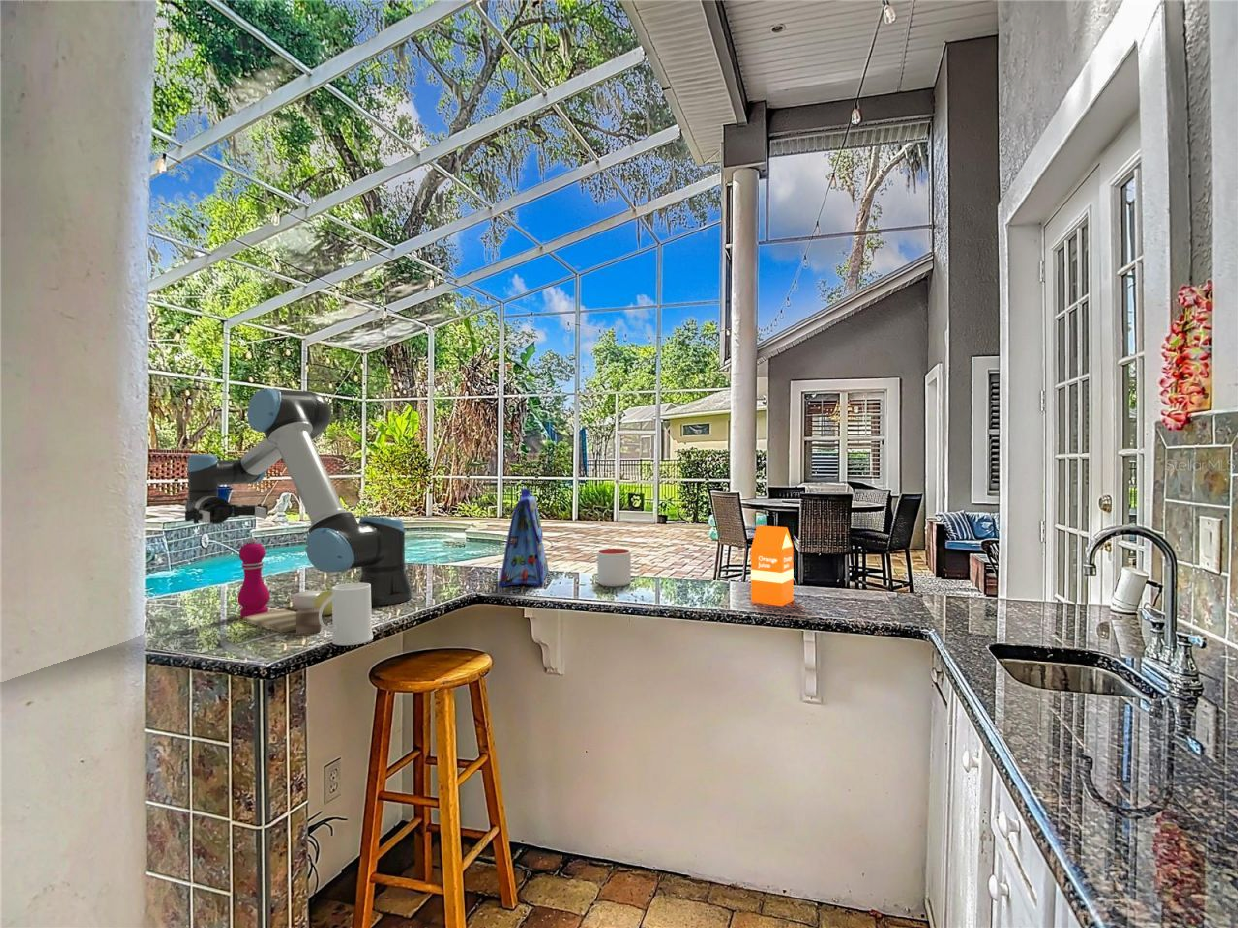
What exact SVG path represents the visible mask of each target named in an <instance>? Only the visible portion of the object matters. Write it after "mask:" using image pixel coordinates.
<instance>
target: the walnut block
mask: <svg viewBox="0 0 1238 928" xmlns="http://www.w3.org/2000/svg"><path fill="white" fill-rule="evenodd" d="M320 608H321V607H313V608H302V609H297V610H296V611H295V612H296V614H295V616H296V630H295V636H300V635H303V634H304V635H312V634H321V630H322V625H321V624H320V621H319V611H320ZM304 635H303V636H304Z"/></svg>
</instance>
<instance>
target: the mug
mask: <svg viewBox="0 0 1238 928" xmlns="http://www.w3.org/2000/svg"><path fill="white" fill-rule="evenodd" d="M331 592H332V596H330V597H329V598H327V599H326V600H325V601H324V603H323V604H322V606H321V608H320V611H319V621H320V624H321V628H323V629H324V630H325V631H327V632H329V633H332V639H331V643H332V644H333V645H335V646H355V645H361V644H366V643H368V642H370V641H372V640H373V638H374V634H373V620H372V606H371V584H369V583H360V582H359V581H357V582H347V583H341V584H336V585H334V586H332V587H331ZM330 601H332V614H331V617H332V627H330V626H327V625H326V624H325V622H324V621H323V615H322V612H323V609H324V607H325V606H326V605H327V604H328V603H329V602H330Z"/></svg>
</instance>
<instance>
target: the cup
mask: <svg viewBox="0 0 1238 928" xmlns="http://www.w3.org/2000/svg"><path fill="white" fill-rule="evenodd" d="M596 556H597V557H596V558H597V560H596V561H597V564H596V565H597V583H598V584H599V585H601V586H603V587H608V588H609V587H610V588H616V587H618V588H619V587H624V586H627V585H629V584H630V583H631V581H632V578H631V577H632V576H631V575H632V574H631V571H632V570H631V566H632V565H631V564H632V563H631V550H629V549H625V548H604V549H600V550H598V551H596Z"/></svg>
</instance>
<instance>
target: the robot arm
mask: <svg viewBox="0 0 1238 928" xmlns="http://www.w3.org/2000/svg"><path fill="white" fill-rule="evenodd" d="M246 413H247V415H246V416H247V422H248V424H249V426H250V428H251V429H252V430H253V431H255V432H257V433H259V434H260V433H261V434H262V433H263V434H264V436H265V437H264V439H262V440H261V441H260V442H258V443H257V444H256V445H254V446H253V447H252V448H251V449H250V450H248V451H247V452H245V453H244V454H243V455H242V456H241V457H239V458H238V459H228V460H227V459H221V460H220V459H218V457H217V455H216V454H191V455H189V456H188V457H187V467H186V468H187V469H186V470H187V481H188V490H187V491H188V492H187V500H185V503H184V507H185V508H184V509H185V511H184V521H186V522H190V521H192V520H193V524H199V523H200V522H202V523H205V524H209V525H217V524H222V523H225V521H227V520H228V519H229V518H238V517H240V516H247V517H249V516H254V517H256V518H260V519H267V516H268V514H269V511H268V510H269V509H268V508H269V507H268V505H262V503H258V504H257V505H248V504H247V505H246V504H241V505H239V504H230V502H229V501H228V500H227V499H226V498H224V497H220V496H218V495H219V492H218V491H219V486H225V485H226V486H227V485H229V486H230V485H245V484H246V485H251V484H256V483H260V482H263V480H264V479H265V476H266V473H267V470H268V469H269V468H271V467H272V466H273V465H275V464H276V463H277V462H278V461H280V460H281V459H282V460H283V462H284V465H285V467H286V470H287V471H288V475H289V476H290V479H291V480H292V483H293V485H294V487H295V490H296V491H297V495H298V497H299V499H300V501H301V503H302V504H303V507H304V510H305V512H306V515H307V517H308V519H309V521H310V524H309V527H308V529H307V533H308V535H307V537H306V540H305V545H306V547H305V551H306V552H305V553H306V556H307V558H308V561H309V562H310V563H311V565H312V566H313V567H314V568H315V569H317V570H318V571H320V572H323V573H325V574H333V573H344V572H347V571H350V570H353V569H358V568H360V575H359V579H358V582H360V583H369V584H371V607H373V606H374V607H375V606H388V605H389V606H390V605H394V604H395V605H396V604H400V603H404V602H405V603H406V601H409V600H411V599H413V588H412V586H411V583H410V580H409V577H408V574H407V572H406V550H405V549H406V544H405V542H406V540H405V535H406V532H405V525H404V521H403V520H402V519H401V518H400V517H398V518H397V517H385V516H384V517H380V516H378V517H377V516H361V517H359V520H358V522H357V519H356V517H355V515H354V513H353V512H352V511H349V510H346V509H345V508H344V506H343V505H342V502H341V500H340V498H339V495H338V493H337V491H336V489H335V487H334V484H333V482H332V481H331V478H330V475H329V474H328V472H327V471H328V470H327V469H326V468H325V465H324V463H323V461H322V459H321V457H320V454H319V452H318V450H317V447H316V446H315V443H314V441H313V439H315V438H317V437H318V436H319V435H321V434H322V433H323V432H324V431H325V430H326V429H327V427H328V426H329V424H330V422H331V418H332V411H331V407H330V405H329V403H328V401H327V399H325V398H324V397H323V396H322V395H320V394H318V393H316V392H313V391H311V390H309V391H308V390H294V389H293V390H292V389H279V388H276V387H275V388H261V389H260V390H258V391H256V392H255V393H254V394H253V395H252V397H251V398H250V400H249V403H248V407H247V412H246Z"/></svg>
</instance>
